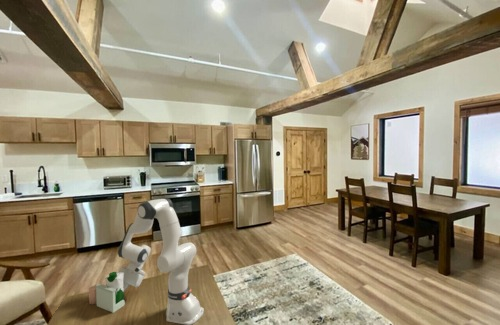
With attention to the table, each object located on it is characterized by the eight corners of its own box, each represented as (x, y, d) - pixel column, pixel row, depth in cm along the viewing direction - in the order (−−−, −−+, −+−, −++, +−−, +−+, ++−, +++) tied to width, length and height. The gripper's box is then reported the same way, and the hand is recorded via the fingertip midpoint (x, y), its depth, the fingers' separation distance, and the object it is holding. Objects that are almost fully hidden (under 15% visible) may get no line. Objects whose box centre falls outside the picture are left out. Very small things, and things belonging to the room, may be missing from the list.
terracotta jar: (102, 299, 146) (102, 286, 145) (93, 305, 140) (92, 291, 140) (96, 297, 148) (96, 284, 148) (87, 302, 143) (86, 289, 142)
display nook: (124, 304, 141) (124, 284, 140) (113, 312, 134) (112, 291, 133) (108, 298, 147) (107, 279, 146) (96, 306, 140) (95, 285, 139)
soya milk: (104, 307, 139) (103, 275, 138) (113, 297, 148) (112, 268, 147) (118, 307, 139) (117, 275, 138) (126, 297, 148) (125, 268, 147)
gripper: (120, 264, 157) (107, 285, 149) (141, 270, 149) (129, 293, 141) (126, 267, 162) (113, 288, 153) (147, 273, 154) (135, 296, 145)
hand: (121, 290), depth 147 cm, fingers closed
